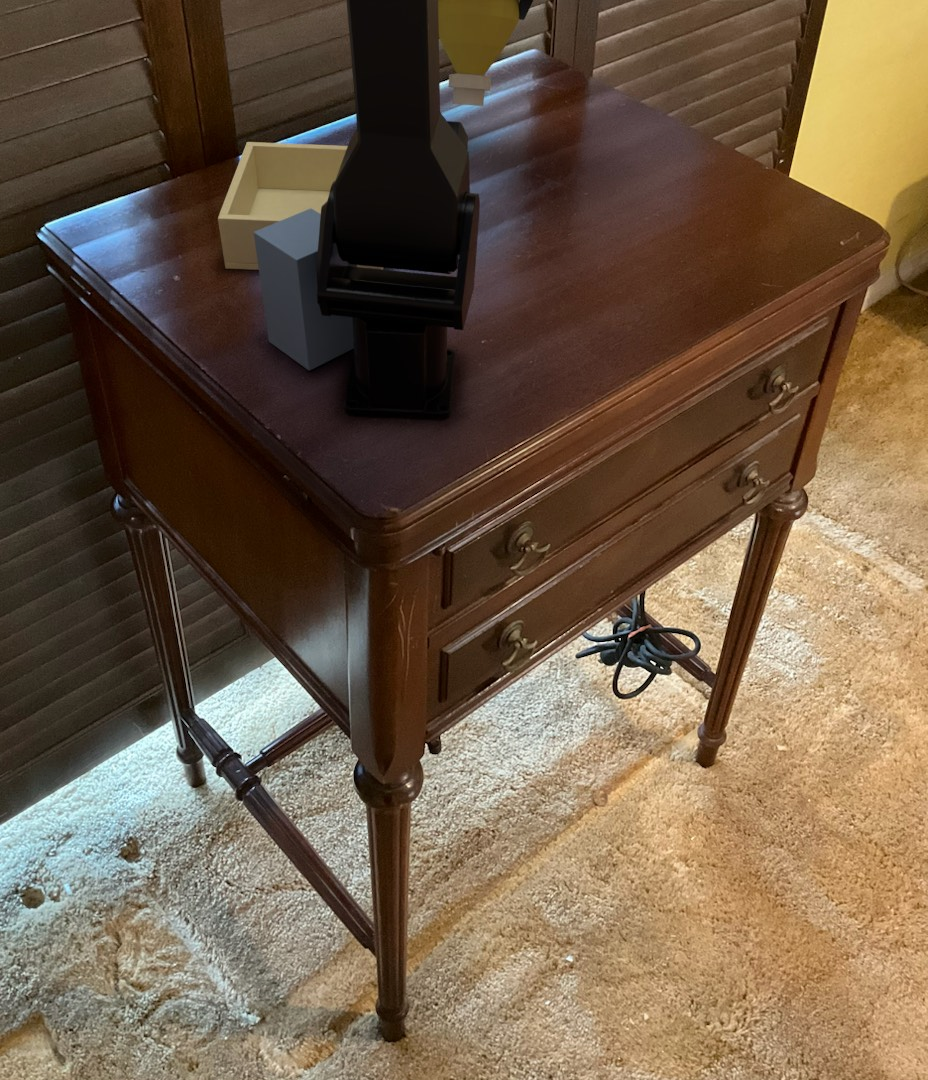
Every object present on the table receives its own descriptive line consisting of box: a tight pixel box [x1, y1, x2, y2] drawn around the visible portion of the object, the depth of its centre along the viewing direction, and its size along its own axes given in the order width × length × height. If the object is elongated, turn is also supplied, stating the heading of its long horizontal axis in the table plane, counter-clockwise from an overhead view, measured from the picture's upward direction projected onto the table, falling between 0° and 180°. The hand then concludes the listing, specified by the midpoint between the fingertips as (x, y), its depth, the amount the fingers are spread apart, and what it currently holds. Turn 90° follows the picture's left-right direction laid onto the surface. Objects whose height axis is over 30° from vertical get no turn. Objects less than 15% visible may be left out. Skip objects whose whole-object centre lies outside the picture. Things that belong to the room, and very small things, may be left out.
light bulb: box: [438, 0, 520, 107], centre depth 84 cm, size 7×7×10 cm
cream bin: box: [217, 141, 384, 271], centre depth 81 cm, size 11×11×4 cm
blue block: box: [254, 209, 357, 371], centre depth 70 cm, size 4×4×8 cm
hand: (477, 12), depth 85 cm, fingers closed on light bulb, 7 cm apart
